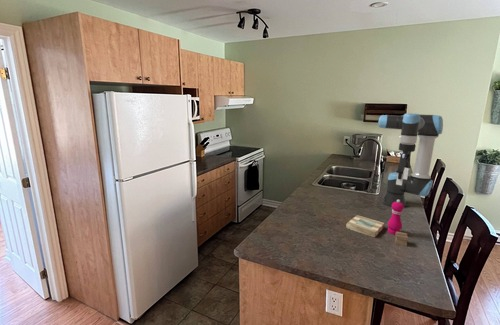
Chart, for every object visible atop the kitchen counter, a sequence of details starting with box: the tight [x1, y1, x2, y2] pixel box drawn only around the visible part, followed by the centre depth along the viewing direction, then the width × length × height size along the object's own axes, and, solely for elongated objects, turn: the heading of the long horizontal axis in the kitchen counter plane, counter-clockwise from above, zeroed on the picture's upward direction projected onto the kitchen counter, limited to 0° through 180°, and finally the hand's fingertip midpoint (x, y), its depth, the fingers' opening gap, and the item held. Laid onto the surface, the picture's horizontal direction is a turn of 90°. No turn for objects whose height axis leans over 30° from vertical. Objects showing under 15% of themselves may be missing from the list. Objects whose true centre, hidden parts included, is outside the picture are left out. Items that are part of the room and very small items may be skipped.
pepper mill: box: [387, 199, 405, 236], centre depth 151 cm, size 7×7×20 cm
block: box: [394, 231, 409, 247], centre depth 142 cm, size 5×5×5 cm
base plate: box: [345, 214, 385, 238], centre depth 158 cm, size 16×16×3 cm
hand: (401, 181), depth 146 cm, fingers open, 13 cm apart
